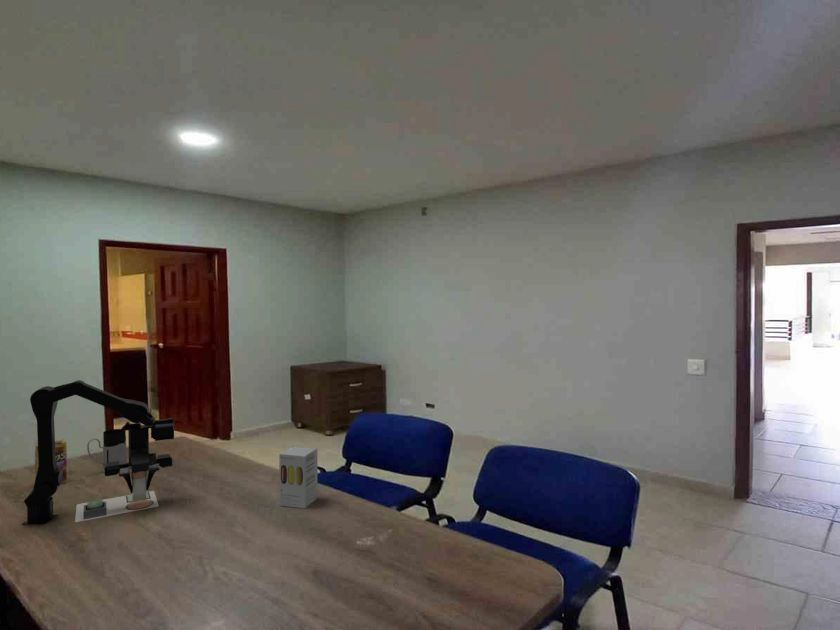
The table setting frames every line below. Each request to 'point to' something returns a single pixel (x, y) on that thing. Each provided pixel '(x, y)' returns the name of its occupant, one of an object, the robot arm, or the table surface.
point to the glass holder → (112, 447)
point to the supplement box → (298, 477)
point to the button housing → (94, 511)
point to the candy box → (59, 455)
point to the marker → (139, 486)
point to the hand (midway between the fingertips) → (139, 491)
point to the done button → (94, 504)
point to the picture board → (120, 506)
